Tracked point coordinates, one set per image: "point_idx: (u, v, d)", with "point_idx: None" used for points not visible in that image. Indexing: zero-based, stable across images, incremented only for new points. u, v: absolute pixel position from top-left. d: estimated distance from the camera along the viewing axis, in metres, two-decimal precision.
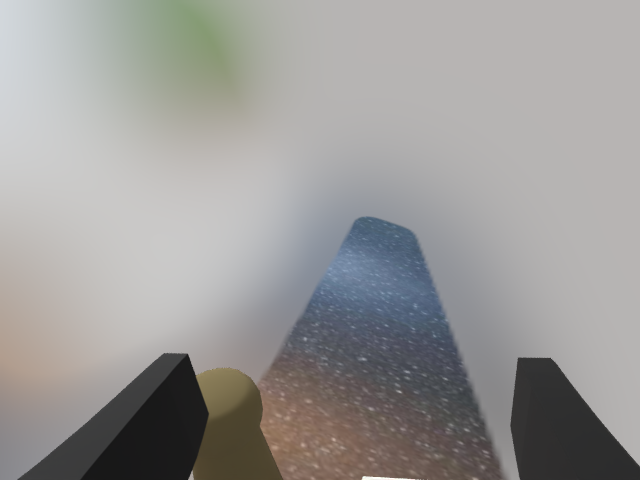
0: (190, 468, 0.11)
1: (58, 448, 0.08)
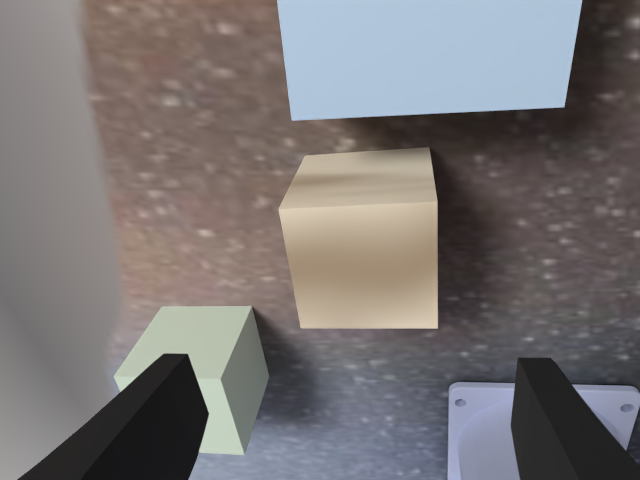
0: (190, 468, 0.11)
1: (58, 448, 0.08)
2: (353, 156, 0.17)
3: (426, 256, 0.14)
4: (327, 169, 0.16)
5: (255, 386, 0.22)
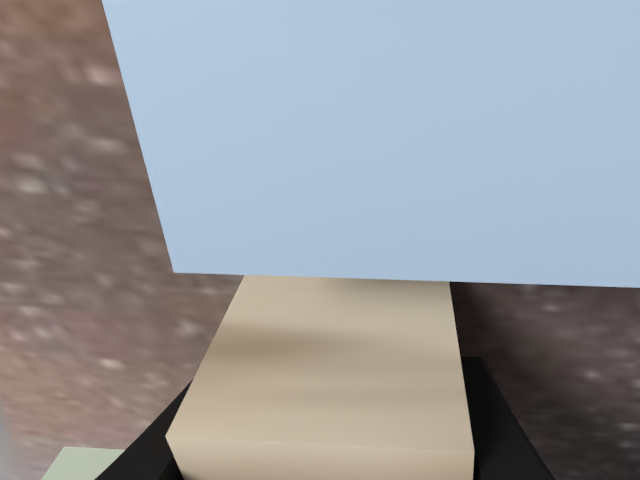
0: None
1: (125, 452, 0.08)
2: (321, 280, 0.10)
3: None
4: (275, 314, 0.09)
5: None
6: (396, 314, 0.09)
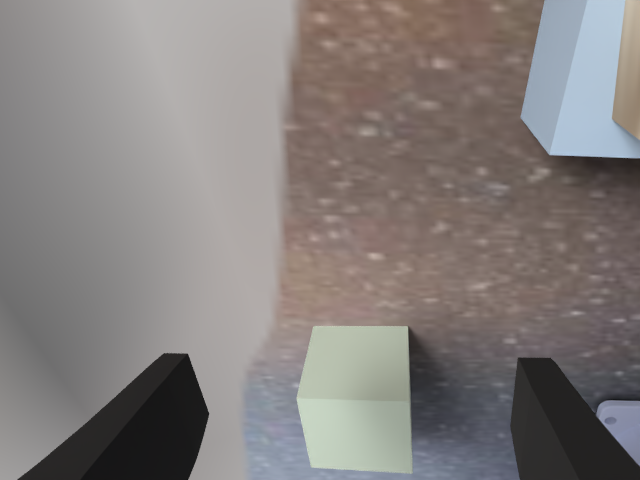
0: (190, 468, 0.11)
1: (58, 448, 0.08)
2: None
3: None
4: None
5: None
6: None
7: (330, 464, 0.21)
